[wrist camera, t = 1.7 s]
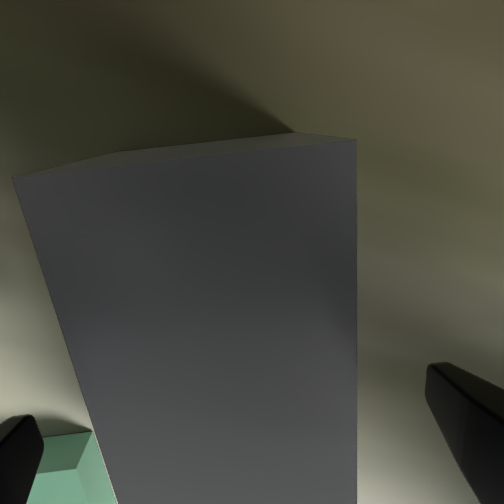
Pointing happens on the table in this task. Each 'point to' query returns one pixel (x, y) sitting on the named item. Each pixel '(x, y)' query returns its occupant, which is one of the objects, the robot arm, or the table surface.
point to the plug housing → (210, 314)
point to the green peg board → (71, 472)
